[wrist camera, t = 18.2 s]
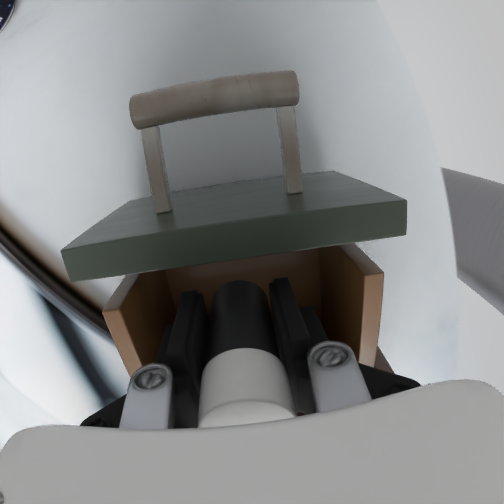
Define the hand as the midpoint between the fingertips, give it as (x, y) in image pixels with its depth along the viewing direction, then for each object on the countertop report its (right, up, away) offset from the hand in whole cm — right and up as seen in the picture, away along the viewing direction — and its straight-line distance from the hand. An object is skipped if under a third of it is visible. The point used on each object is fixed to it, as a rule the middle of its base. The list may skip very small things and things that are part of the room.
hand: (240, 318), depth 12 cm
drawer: (0, +2, +6) cm, 6 cm away
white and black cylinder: (0, 0, +1) cm, 1 cm away
